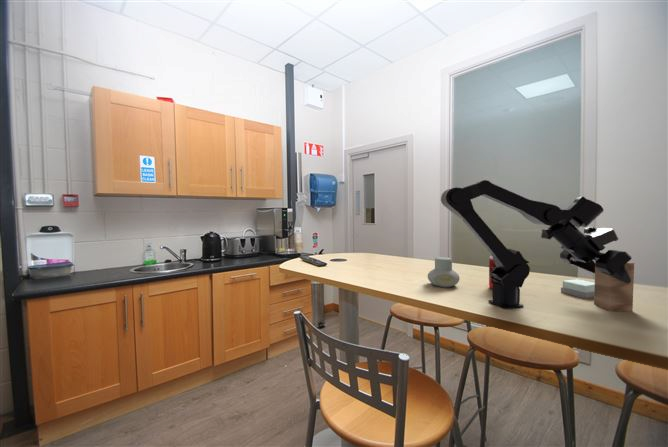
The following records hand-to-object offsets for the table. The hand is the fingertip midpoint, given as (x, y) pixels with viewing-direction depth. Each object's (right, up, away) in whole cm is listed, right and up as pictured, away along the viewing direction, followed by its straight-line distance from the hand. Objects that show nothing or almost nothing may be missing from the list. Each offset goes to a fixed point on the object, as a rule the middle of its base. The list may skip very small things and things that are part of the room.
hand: (614, 278), depth 80 cm
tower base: (+2, -8, +13) cm, 16 cm away
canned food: (-20, -8, +20) cm, 29 cm away
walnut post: (0, -8, 0) cm, 8 cm away
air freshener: (-37, -8, +26) cm, 46 cm away
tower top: (+2, -6, +13) cm, 15 cm away
